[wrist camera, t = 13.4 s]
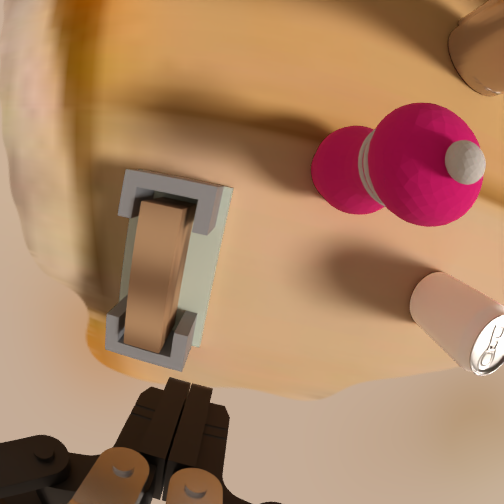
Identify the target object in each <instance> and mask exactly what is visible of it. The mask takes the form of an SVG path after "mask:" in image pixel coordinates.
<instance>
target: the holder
mask: <svg viewBox="0 0 504 504" xmlns="http://www.w3.org/2000/svg"><path fill="white" fill-rule="evenodd" d="M233 189H234V188H231V187H226V186H222V185H217V184H212V183H208V182H203V181H198V180H193V179H188V178H183V177H178V176H173V175H168V174H163V173H158V172H153V171H147V170H141V169H138V170H132V169H126V171H125V176H124V181H123V186H122V192H121V198H120V203H119V210H118V216H122V217H127V218H129V224H128V231H127V237H126V244H125V252H124V259H123V268H122V276H121V286H120V296H119V303H118V304H117V305H116V306H114V307H113V308H112V309H111V310H110V311H109V312H108V313H107V319H106V340H105V349H106V350H109V351H112V352H115V353H118V354H121V355H125V356H128V357H131V358H134V359H138V360H141V361H144V362H148V363H151V364H155V365H158V366H162V367H166V368H169V369H173V370H177V371H181V372H182V370H183V368H184V365H185V362H186V360H187V357H188V354H189V351H190V349H191V346H195V347H200V344H201V340H202V334H203V329H204V324H205V319H206V314H207V309H208V304H209V299H210V294H211V290H212V285H213V280H214V275H215V270H216V266H217V261H218V256H219V252H220V247H221V242H222V238H223V233H224V229H225V224H226V220H227V215H228V211H229V206H230V202H231V198H232V193H233ZM160 197H166V198H171V199H175V200H180V201H185V202H189V203H194V204H197V206H196V211H195V216H194V221H193V226H192V231H191V236H190V241H189V246H188V251H187V256H186V262H185V267H184V272H183V278H182V284H181V289H180V295H179V301H178V307H177V313H176V319H175V325H174V326H173V328H172V330H171V332H170V334H169V336H168V338H167V339H166V341H165V343H164V345H163V347H162V349H161V351H160V352H159V353H155V352H152V351H148V350H145V349H141V348H138V347H135V346H131V345H128V344H125V343H124V331H125V318H126V308H127V298H128V288H129V280H130V272H131V264H132V256H133V249H134V243H135V236H136V230H137V224H138V218H139V212H140V206H141V201H144V200H149V199H155V198H160Z"/></svg>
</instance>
